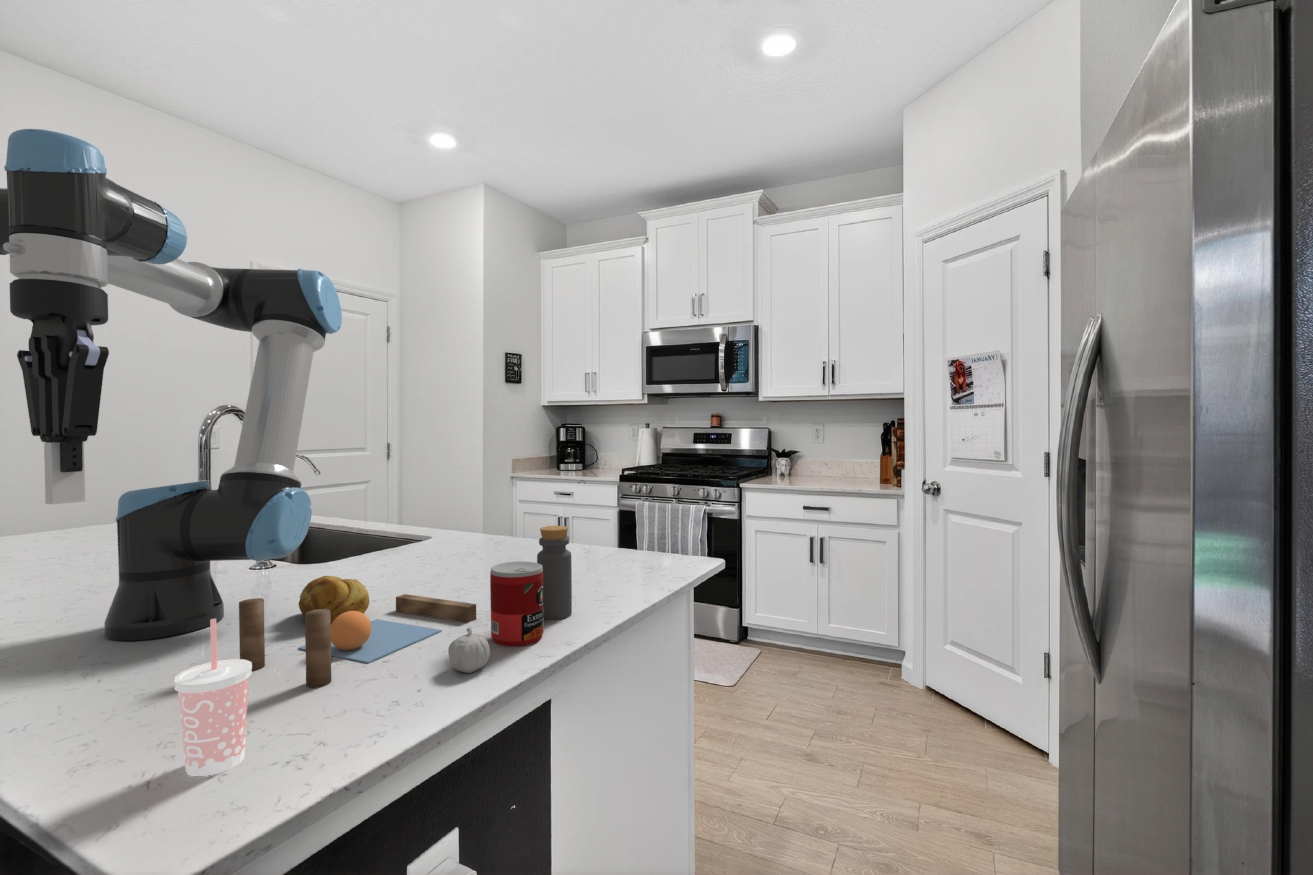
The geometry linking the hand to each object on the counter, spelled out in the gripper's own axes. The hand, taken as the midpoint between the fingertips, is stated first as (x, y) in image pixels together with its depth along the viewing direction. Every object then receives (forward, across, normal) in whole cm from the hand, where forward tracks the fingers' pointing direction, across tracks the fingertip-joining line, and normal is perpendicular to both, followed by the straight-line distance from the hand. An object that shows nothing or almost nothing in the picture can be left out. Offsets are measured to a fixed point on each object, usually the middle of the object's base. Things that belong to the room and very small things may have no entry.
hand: (65, 502), depth 65 cm
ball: (+22, +9, +28) cm, 37 cm away
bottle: (+25, +28, +53) cm, 65 cm away
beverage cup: (+25, +23, +1) cm, 34 cm away
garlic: (+25, +30, +29) cm, 48 cm away
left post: (+24, +3, +18) cm, 30 cm away
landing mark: (+24, +9, +32) cm, 41 cm away
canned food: (+25, +29, +41) cm, 56 cm away
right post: (+24, +15, +18) cm, 34 cm away
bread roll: (+25, -6, +38) cm, 45 cm away
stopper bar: (+24, +9, +45) cm, 52 cm away
